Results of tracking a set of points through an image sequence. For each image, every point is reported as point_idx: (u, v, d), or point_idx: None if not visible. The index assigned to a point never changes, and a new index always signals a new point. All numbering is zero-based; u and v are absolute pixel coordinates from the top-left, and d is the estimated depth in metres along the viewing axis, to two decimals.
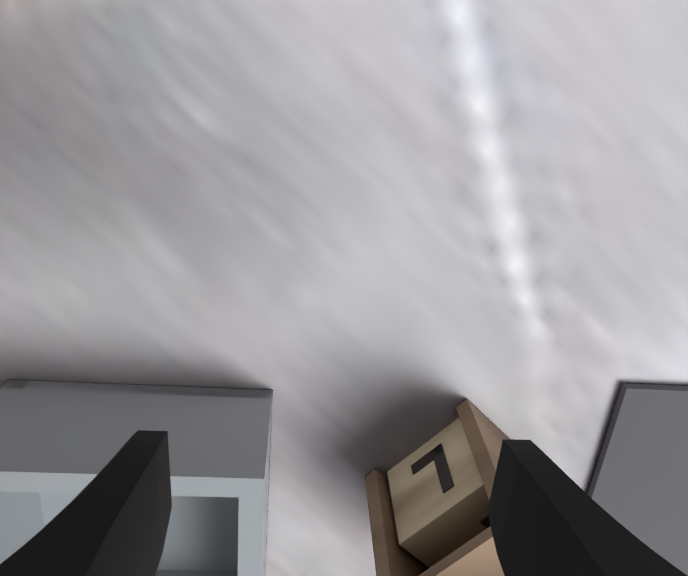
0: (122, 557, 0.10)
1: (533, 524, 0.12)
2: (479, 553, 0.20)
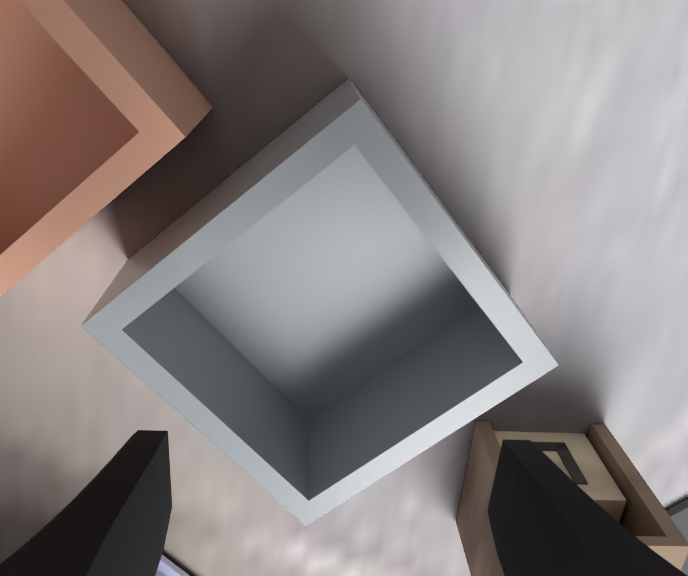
0: (122, 556, 0.10)
1: (533, 524, 0.12)
2: None
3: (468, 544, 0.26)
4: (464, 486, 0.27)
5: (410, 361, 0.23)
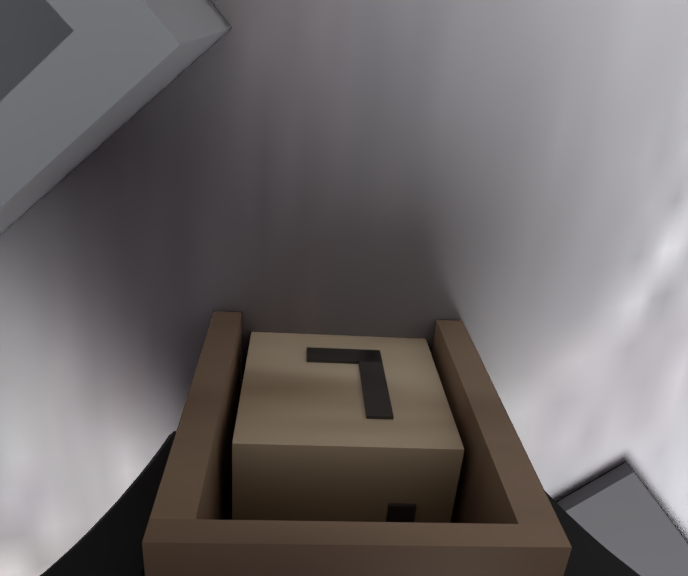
0: None
1: None
2: (447, 560, 0.08)
3: None
4: None
5: None
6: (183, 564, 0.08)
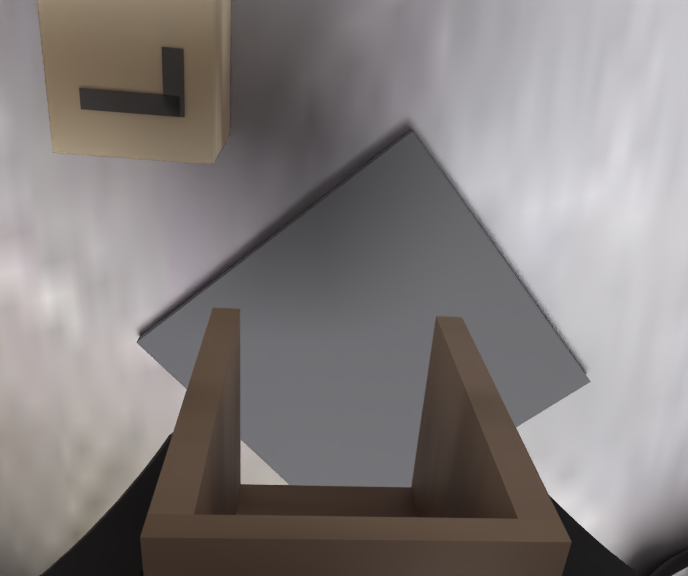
0: None
1: None
2: (446, 555, 0.08)
3: None
4: None
5: None
6: (181, 559, 0.08)
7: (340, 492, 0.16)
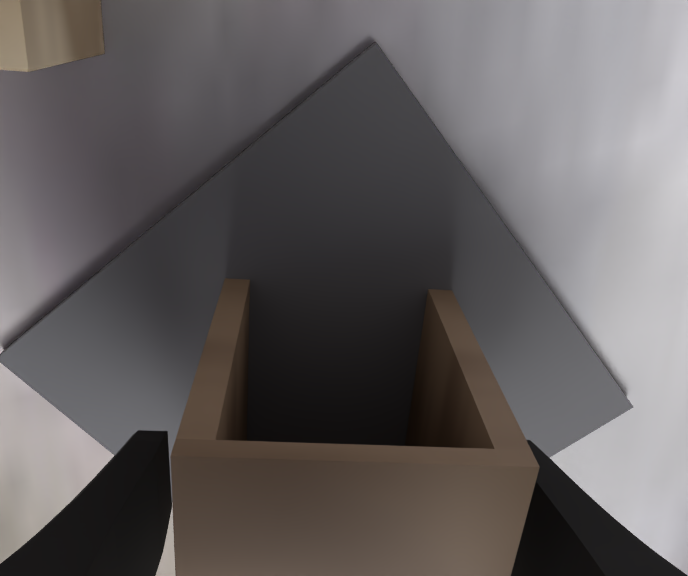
0: (121, 557, 0.10)
1: (533, 524, 0.12)
2: (432, 477, 0.10)
3: None
4: None
5: None
6: (205, 476, 0.09)
7: None
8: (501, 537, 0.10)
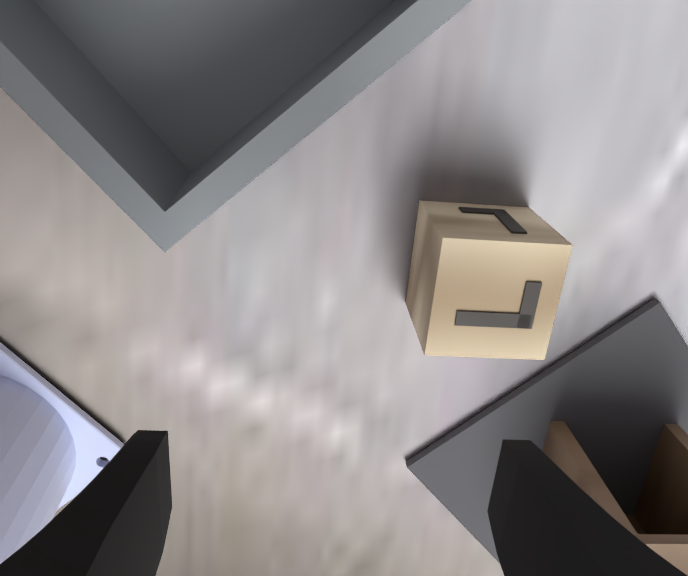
0: (122, 557, 0.10)
1: (533, 524, 0.12)
2: None
3: None
4: None
5: (306, 76, 0.19)
6: None
7: None
8: None
